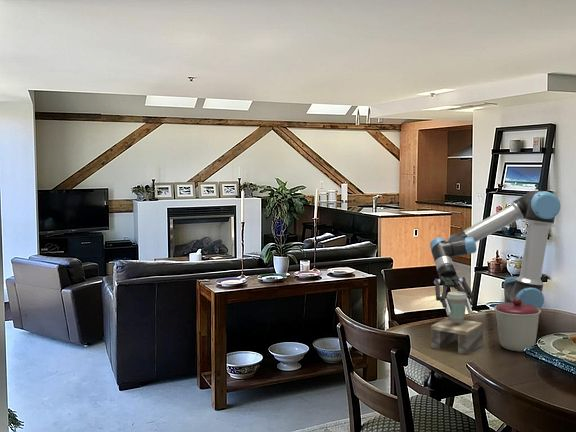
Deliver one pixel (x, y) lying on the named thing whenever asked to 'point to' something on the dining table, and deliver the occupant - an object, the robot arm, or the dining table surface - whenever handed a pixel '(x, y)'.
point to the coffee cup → (457, 306)
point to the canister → (517, 324)
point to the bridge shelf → (467, 335)
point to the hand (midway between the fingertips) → (459, 313)
